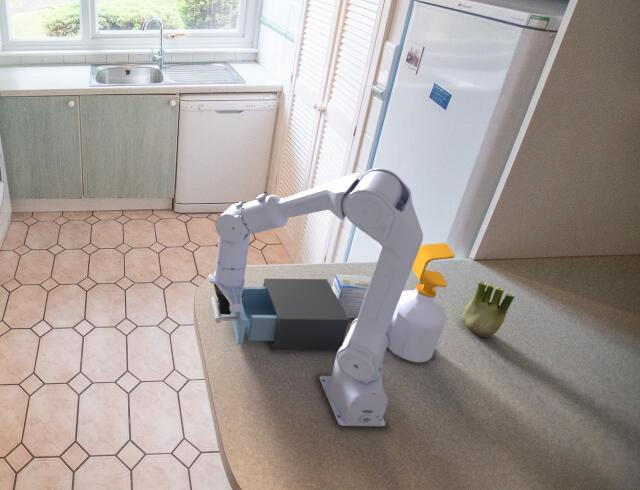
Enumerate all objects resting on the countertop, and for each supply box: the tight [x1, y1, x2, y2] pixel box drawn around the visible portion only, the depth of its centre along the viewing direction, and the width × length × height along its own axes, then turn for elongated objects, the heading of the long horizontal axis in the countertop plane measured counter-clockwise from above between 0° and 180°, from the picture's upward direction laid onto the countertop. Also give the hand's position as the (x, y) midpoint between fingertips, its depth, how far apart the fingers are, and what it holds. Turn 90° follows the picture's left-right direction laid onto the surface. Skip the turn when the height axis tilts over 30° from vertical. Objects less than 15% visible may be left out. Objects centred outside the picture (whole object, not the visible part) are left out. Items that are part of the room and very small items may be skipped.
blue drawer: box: [210, 285, 278, 345], centre depth 95 cm, size 17×10×7 cm, turn 89°
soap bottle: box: [387, 242, 455, 363], centre depth 88 cm, size 9×9×25 cm
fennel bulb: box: [461, 280, 516, 338], centre depth 94 cm, size 6×5×12 cm
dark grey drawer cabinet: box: [262, 278, 350, 352], centre depth 95 cm, size 14×12×9 cm
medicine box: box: [331, 274, 372, 319], centre depth 99 cm, size 8×4×9 cm, turn 84°
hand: (224, 312), depth 95 cm, fingers closed, pressing on blue drawer
